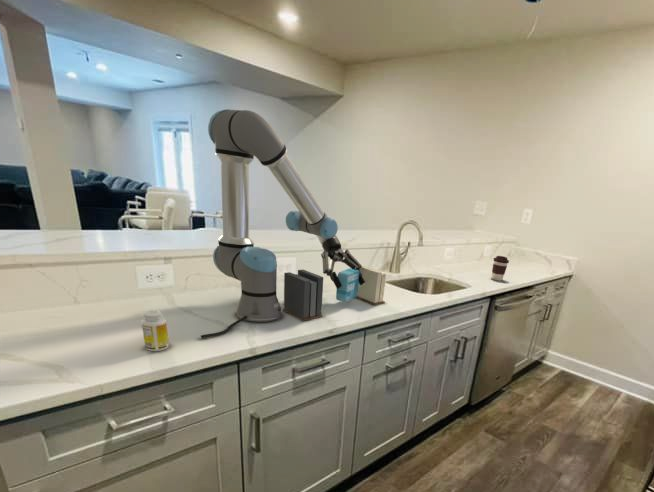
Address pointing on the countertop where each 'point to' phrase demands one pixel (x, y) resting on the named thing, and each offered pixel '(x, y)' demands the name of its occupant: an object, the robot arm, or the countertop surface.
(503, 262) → the coffee cup
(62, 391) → the countertop surface
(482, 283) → the countertop surface
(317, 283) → the grey books
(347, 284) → the blue box
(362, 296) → the cream books
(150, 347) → the supplement bottle
